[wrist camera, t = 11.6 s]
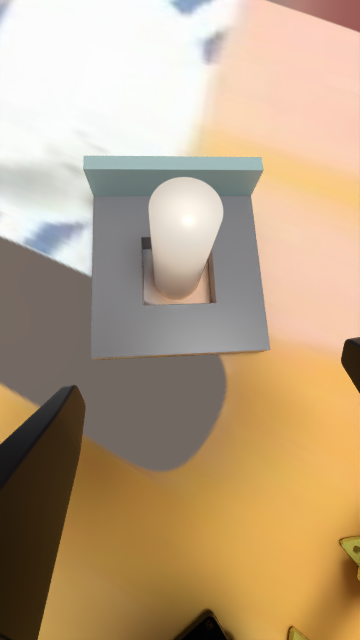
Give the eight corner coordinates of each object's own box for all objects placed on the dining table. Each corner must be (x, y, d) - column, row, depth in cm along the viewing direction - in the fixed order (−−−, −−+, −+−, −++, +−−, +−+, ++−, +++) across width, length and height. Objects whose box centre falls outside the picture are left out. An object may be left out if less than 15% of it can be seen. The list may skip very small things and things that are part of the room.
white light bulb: (184, 307, 23) (200, 257, 13) (146, 285, 23) (134, 219, 13) (206, 271, 24) (236, 199, 14) (168, 250, 24) (172, 164, 14)
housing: (260, 351, 23) (287, 345, 18) (97, 359, 22) (77, 354, 17) (242, 198, 26) (261, 157, 21) (99, 199, 25) (83, 155, 20)
